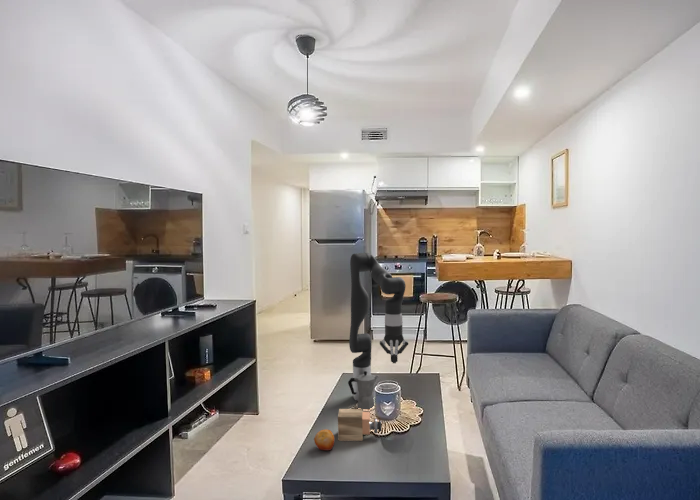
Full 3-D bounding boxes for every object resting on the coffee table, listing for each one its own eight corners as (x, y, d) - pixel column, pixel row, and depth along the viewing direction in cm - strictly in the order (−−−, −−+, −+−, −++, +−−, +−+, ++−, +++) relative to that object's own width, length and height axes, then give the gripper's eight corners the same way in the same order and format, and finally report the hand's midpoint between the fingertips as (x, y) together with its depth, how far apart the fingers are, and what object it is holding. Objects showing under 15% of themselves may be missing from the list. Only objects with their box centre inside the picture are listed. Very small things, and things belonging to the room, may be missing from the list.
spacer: (362, 426, 186) (362, 411, 186) (369, 426, 186) (369, 411, 185) (362, 434, 179) (362, 419, 179) (369, 434, 179) (369, 419, 179)
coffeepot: (375, 401, 218) (374, 366, 216) (382, 409, 209) (381, 372, 207) (346, 406, 213) (345, 370, 212) (351, 414, 204) (350, 376, 203)
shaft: (339, 428, 186) (339, 416, 186) (381, 429, 185) (381, 416, 185) (338, 435, 180) (338, 422, 180) (381, 435, 180) (381, 422, 179)
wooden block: (339, 431, 187) (339, 408, 187) (363, 431, 187) (362, 408, 186) (338, 440, 179) (337, 417, 179) (362, 440, 179) (362, 417, 178)
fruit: (338, 438, 178) (335, 427, 174) (333, 457, 172) (330, 445, 168) (320, 436, 180) (316, 425, 176) (314, 454, 174) (310, 443, 170)
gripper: (408, 321, 191) (408, 360, 192) (378, 321, 191) (378, 360, 192) (409, 325, 183) (410, 365, 184) (378, 325, 184) (379, 365, 185)
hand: (394, 362), depth 188 cm, fingers closed
